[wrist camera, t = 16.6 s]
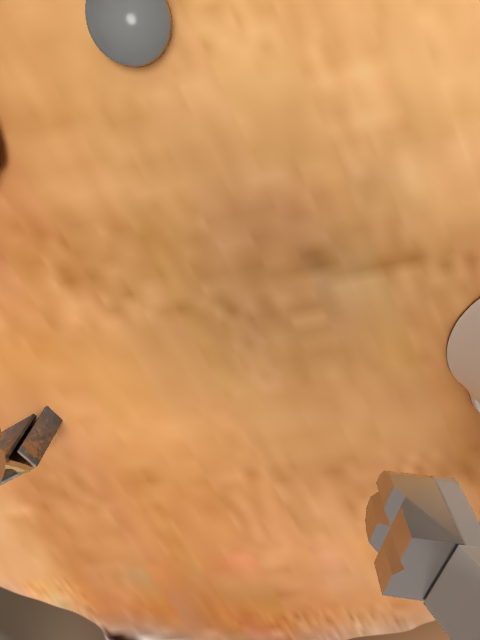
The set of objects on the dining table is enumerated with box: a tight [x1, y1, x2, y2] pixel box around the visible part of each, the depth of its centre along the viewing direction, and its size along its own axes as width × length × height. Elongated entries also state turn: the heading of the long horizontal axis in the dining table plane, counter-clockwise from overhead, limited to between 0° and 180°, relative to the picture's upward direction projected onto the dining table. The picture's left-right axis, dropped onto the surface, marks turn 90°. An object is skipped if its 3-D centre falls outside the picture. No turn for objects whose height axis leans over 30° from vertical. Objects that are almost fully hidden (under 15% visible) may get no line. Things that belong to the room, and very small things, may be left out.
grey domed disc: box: [85, 0, 172, 67], centre depth 33 cm, size 6×6×2 cm
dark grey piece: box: [0, 406, 63, 485], centre depth 49 cm, size 11×3×10 cm, turn 122°
